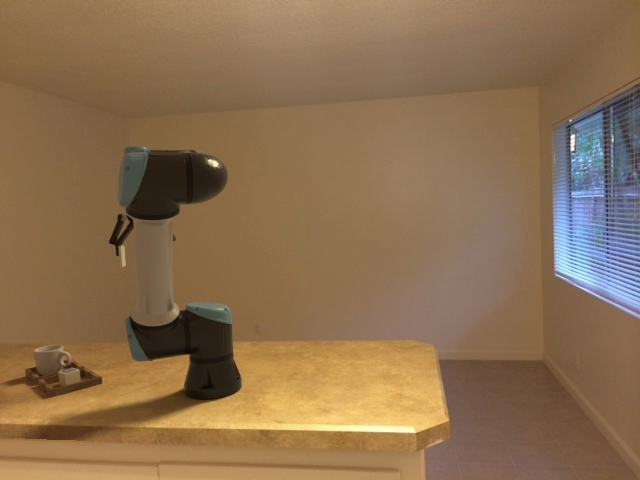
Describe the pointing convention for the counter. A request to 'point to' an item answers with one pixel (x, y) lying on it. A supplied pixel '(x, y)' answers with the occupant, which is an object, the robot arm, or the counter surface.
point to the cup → (50, 359)
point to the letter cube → (69, 376)
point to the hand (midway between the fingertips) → (144, 265)
